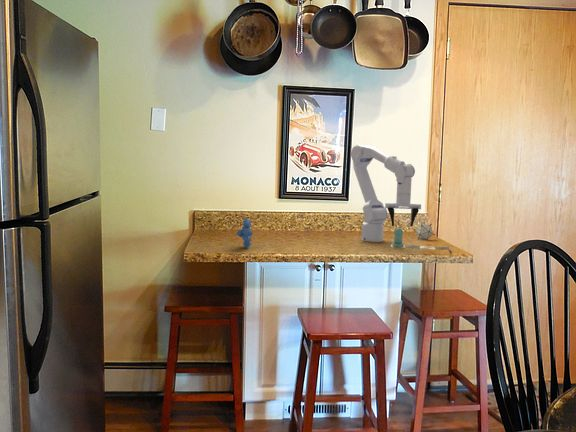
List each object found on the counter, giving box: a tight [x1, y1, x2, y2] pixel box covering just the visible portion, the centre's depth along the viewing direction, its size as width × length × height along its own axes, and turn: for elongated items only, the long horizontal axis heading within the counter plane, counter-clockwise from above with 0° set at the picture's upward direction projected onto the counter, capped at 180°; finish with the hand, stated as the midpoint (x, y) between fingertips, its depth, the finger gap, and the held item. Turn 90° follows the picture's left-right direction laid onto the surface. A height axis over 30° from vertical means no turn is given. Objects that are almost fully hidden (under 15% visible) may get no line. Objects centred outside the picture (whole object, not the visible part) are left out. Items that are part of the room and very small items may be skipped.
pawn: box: [392, 227, 405, 248], centre depth 222 cm, size 5×5×8 cm
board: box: [390, 244, 452, 254], centre depth 221 cm, size 24×10×1 cm, turn 79°
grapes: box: [236, 217, 254, 249], centre depth 218 cm, size 12×7×12 cm, turn 6°
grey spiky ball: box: [413, 222, 436, 241], centre depth 242 cm, size 9×8×10 cm
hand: (402, 225), depth 222 cm, fingers open, 7 cm apart
